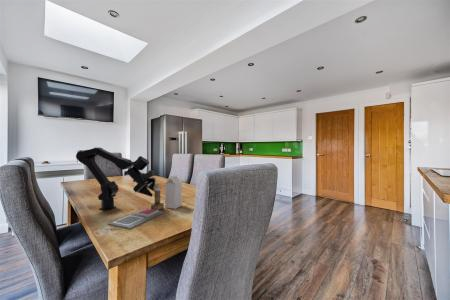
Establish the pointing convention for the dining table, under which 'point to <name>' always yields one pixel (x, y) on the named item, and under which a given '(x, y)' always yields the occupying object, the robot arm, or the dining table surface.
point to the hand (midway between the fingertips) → (155, 194)
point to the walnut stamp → (157, 198)
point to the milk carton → (173, 193)
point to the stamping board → (136, 218)
